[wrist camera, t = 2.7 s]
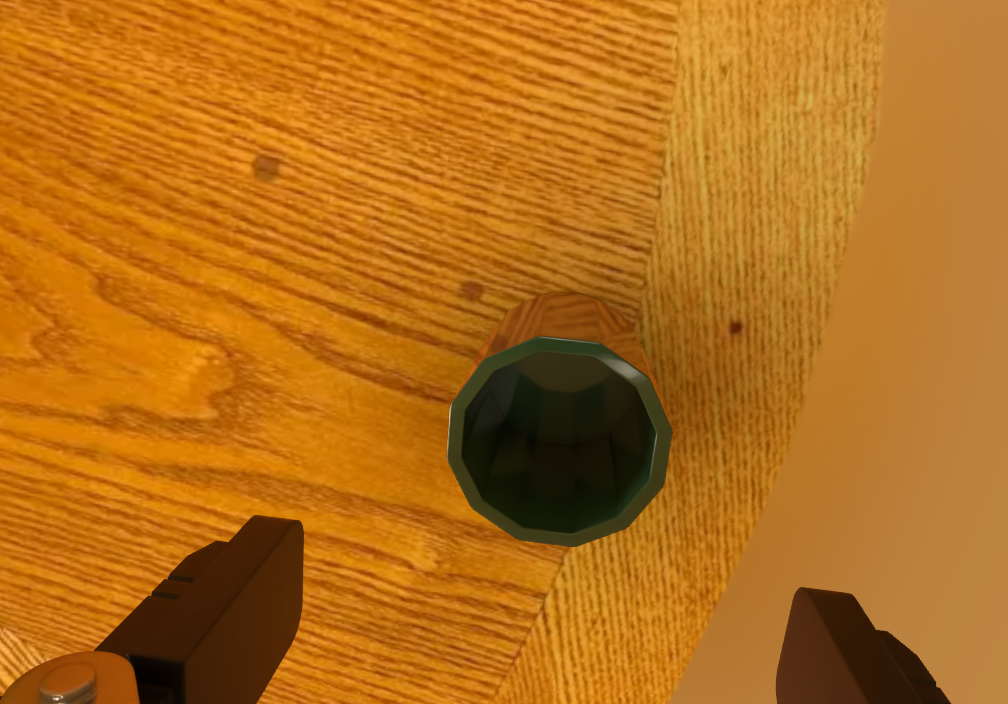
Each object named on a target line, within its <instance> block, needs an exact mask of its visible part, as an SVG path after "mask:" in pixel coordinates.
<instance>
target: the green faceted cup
mask: <svg viewBox="0 0 1008 704" xmlns="http://www.w3.org/2000/svg"><path fill="white" fill-rule="evenodd" d="M672 434H673V432H672V427H671V424H670V421H669V418H668V415H667V412H666V409H665V407H664V404H663V401H662V398H661V395H660V392H659V389H658V386H657V383H656V381H655V378H654V375H653V372H652V369H651V366H650V364H649V361H648V359H647V357H646V354H645V352H644V350H643V347H642V345H641V342H640V340H639V338H638V336H637V333H636V331H635V329H634V326H633V325H632V324H631V323H630V322H628V321H627V320H626V319H625V318H624V317H623V316H622V315H621V314H620V313H618V312H617V311H616V310H615V309H614V308H612V307H610V306H609V305H607V304H606V303H604V302H602V301H600V300H598V299H596V298H593V297H590V296H586V295H583V294H577V293H568V292H558V293H548V294H544V295H540V296H537V297H534V298H531V299H529V300H527V301H525V302H523V303H521V304H519V305H518V306H516V307H515V308H513V309H511V310H509V311H508V312H506V313H505V315H504V316H503V317H502V319H501V320H500V321H499V323H498V324H497V325H496V326H495V328H494V329H493V331H492V333H491V334H490V335H489V337H488V338H487V340H486V341H485V342H484V344H483V345H482V347H481V349H480V350H479V352H478V354H477V356H476V358H475V360H474V362H473V363H472V365H471V367H470V369H469V371H468V373H467V375H466V376H465V378H464V380H463V382H462V384H461V386H460V388H459V390H458V391H457V393H456V395H455V397H454V399H453V401H452V403H451V405H450V414H449V428H448V443H447V461H448V463H449V465H450V467H451V469H452V471H453V473H454V475H455V477H456V479H457V481H458V483H459V485H460V487H461V489H462V491H463V493H464V495H465V497H466V499H467V501H468V503H469V505H470V507H472V509H473V510H475V511H476V512H478V513H479V514H481V515H482V516H483V517H485V518H486V519H488V520H489V521H491V522H492V523H494V524H495V525H497V526H498V527H499V528H501V529H502V530H504V531H505V532H507V533H508V534H510V535H511V536H513V537H514V538H515V539H518V540H521V541H529V542H537V543H544V544H552V545H560V546H567V547H577V546H580V545H582V544H585V543H588V542H591V541H593V540H596V539H599V538H602V537H605V536H607V535H610V534H613V533H616V532H618V531H621V530H624V529H626V528H628V527H629V526H630V525H631V524H632V522H633V521H634V520H635V519H636V518H637V517H638V516H639V514H640V513H641V512H642V511H643V510H644V509H645V507H646V506H647V505H648V504H649V503H650V502H651V500H652V499H653V498H654V497H655V496H656V495H657V494H658V492H659V491H660V490H661V489H662V488H663V485H664V484H665V478H666V471H667V465H668V459H669V452H670V446H671V440H672Z"/></svg>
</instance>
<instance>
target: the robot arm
mask: <svg viewBox="0 0 1008 704" xmlns="http://www.w3.org/2000/svg"><path fill="white" fill-rule="evenodd" d="M303 550H304V531H303V525H302V523H301V522H300V521H299V520H292V519H284V518H276V517H269V516H261V515H254V516H253V517H252V518H250V519H249V521H248V522H247V523H246V524H245V525H244V526H243V527H242V528H241V529H240V530H239V531H238V533H237V534H236V535H235V536H234V537H233V538H232V539H231V540H230V541H229V542H223V541H215V542H213V543H211V544H209V545H207V546H206V547H204V548H202V549H200V550H198V551H196V552H194V553H192V554H190V555H188V556H187V557H186V558H185V559H184V560H183V561H182V562H181V563H180V564H179V565H178V566H177V567H176V568H175V569H174V570H173V571H172V572H171V573H170V574H169V575H168V579H167V580H166V579H164V580H163V581H162V582H161V583H160V584H159V585H158V586H157V587H156V588H155V589H154V590H153V591H152V595H151V596H147V597H146V598H145V599H144V600H143V601H142V602H141V603H140V605H139V606H138V607H137V608H136V609H135V610H134V611H133V612H132V613H131V614H130V615H129V616H128V617H127V618H126V619H125V620H124V621H123V622H122V623H121V624H120V625H119V626H118V627H117V628H116V629H115V630H114V631H113V632H112V633H111V634H110V635H109V636H108V637H107V638H106V639H105V640H104V641H103V642H102V643H101V644H100V645H99V646H98V647H97V648H96V649H95V650H94V651H86V652H78V653H73V654H68V655H64V656H61V657H57V658H54V659H52V660H49V661H47V662H44V663H42V664H40V665H38V666H36V667H34V668H33V669H31V670H29V671H28V672H26V673H25V674H23V675H22V676H21V677H19V678H18V679H17V680H16V681H15V682H14V683H13V684H12V685H10V686H9V688H8V689H7V690H6V692H5V693H4V694H3V696H0V704H256V703H257V702H258V700H259V698H260V697H261V695H262V693H263V692H264V690H265V688H266V687H267V685H268V683H269V681H270V680H271V678H272V676H273V675H274V673H275V671H276V670H277V668H278V666H279V665H280V663H281V661H282V659H283V658H284V656H285V654H286V653H287V651H288V649H289V648H290V646H291V644H292V642H293V640H294V638H295V635H296V633H297V629H298V626H299V622H300V618H301V612H302V602H303ZM776 696H777V704H951V703H950V701H949V700H948V699H947V697H946V696H945V694H944V693H943V692H942V690H941V689H940V688H937V687H936V681H935V680H934V679H933V677H932V676H931V674H930V673H929V671H928V670H927V669H926V667H925V666H924V664H923V663H922V661H921V660H920V659H919V658H918V656H917V655H916V654H914V653H913V652H912V651H911V650H910V649H909V648H907V647H906V646H905V645H904V644H902V643H901V642H900V641H899V640H897V639H896V638H895V637H894V636H893V635H891V634H890V633H889V632H887V631H880V630H876V629H875V628H874V626H873V625H872V623H871V621H870V620H869V618H868V617H867V615H866V614H865V612H864V611H863V609H862V607H861V606H860V604H859V603H858V601H857V600H856V598H855V597H854V596H853V595H852V594H849V593H843V592H835V591H828V590H820V589H812V588H805V587H801V588H799V589H798V590H797V591H796V593H795V595H794V598H793V601H792V606H791V610H790V615H789V619H788V624H787V629H786V633H785V638H784V642H783V646H782V651H781V655H780V660H779V664H778V669H777V676H776Z"/></svg>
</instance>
